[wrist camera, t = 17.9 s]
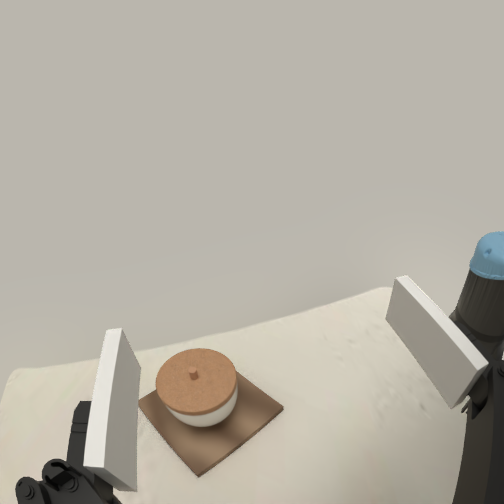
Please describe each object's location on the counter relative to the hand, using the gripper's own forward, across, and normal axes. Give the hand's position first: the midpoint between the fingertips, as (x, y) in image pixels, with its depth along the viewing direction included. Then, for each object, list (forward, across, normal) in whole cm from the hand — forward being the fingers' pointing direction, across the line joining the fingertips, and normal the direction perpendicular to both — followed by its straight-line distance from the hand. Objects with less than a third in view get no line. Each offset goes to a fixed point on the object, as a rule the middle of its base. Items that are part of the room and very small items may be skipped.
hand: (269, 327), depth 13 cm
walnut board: (+15, -7, -30) cm, 34 cm away
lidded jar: (+15, -7, -29) cm, 33 cm away
